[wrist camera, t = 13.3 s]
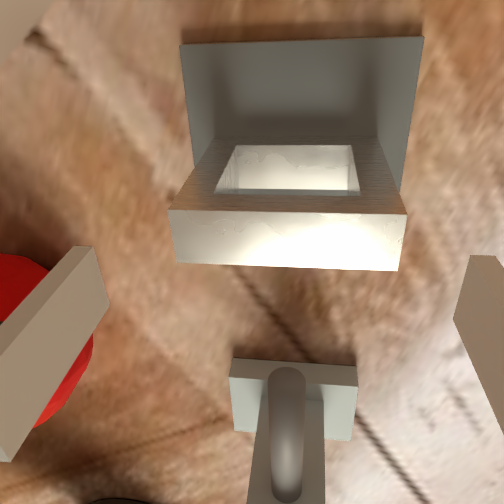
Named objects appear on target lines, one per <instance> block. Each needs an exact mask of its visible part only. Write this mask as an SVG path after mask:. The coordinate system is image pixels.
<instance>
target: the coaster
mask: <svg viewBox="0 0 504 504" xmlns="http://www.w3.org/2000/svg"><path fill="white" fill-rule="evenodd" d="M423 43H424V36H422V35H417V36H388V37H360V38H331V39H303V40H274V41H246V42H217V43H189V44H181V45H179V48H180V56H181V64H182V72H183V80H184V87H185V95H186V103H187V111H188V119H189V127H190V134H191V142H192V150H193V158H194V166H196V165H197V163H198V162H199V160H200V158H201V157H202V155H203V154H204V152H205V151H206V149H207V148H208V146H209V144H210V143H211V141H212V140H213V138H214V137H233V136H378V138H379V141H380V144H381V146H382V149H383V152H384V154H385V157H386V159H387V162H388V165H389V167H390V170H391V173H392V175H393V178H394V181H395V183H396V186H397V189H398V191H399V192H400V186H401V179H402V173H403V167H404V161H405V155H406V148H407V142H408V136H409V130H410V124H411V117H412V111H413V105H414V99H415V93H416V87H417V80H418V74H419V68H420V62H421V56H422V49H423ZM237 194H259V195H326V196H348V192H347V190H324V189H246V188H239V190H238V193H237Z"/></svg>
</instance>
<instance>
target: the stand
mask: <svg viewBox="0 0 504 504" xmlns="http://www.w3.org/2000/svg"><path fill="white" fill-rule="evenodd" d="M229 385H230V393H231V402H232V411H233V420H234V428H235V431H245V432H256V437H255V444H254V452H253V459H252V467H251V474H250V481H249V489H248V496H247V504H325V452H324V439H332V440H343V441H351V436H352V429H353V422H354V415H355V408H356V401H357V394H358V377H357V367H356V366H343V365H328V364H314V363H299V362H284V361H270V360H255V359H240V358H233V360H232V364H231V369H230V373H229Z"/></svg>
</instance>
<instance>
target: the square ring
mask: <svg viewBox="0 0 504 504" xmlns="http://www.w3.org/2000/svg"><path fill="white" fill-rule="evenodd" d="M239 188H246V189H324V190H347V192H348V196H326V195H259V194H237V193H238V190H239ZM167 211H168V216H169V222H170V228H171V233H172V239H173V245H174V250H175V256H176V262H177V263H201V264H228V265H254V266H281V267H307V268H333V269H360V270H386V271H397V270H398V265H399V259H400V253H401V248H402V242H403V237H404V231H405V226H406V220H407V212H406V210H405V207H404V204H403V202H402V199H401V196H400V194H399V191H398V189H397V186H396V183H395V181H394V178H393V175H392V173H391V170H390V167H389V165H388V162H387V159H386V157H385V154H384V152H383V149H382V146H381V144H380V141H379V138H378V136H233V137H214V138H213V140H212V141H211V143H210V144H209V146H208V148H207V149H206V151H205V152H204V154H203V155H202V157H201V158H200V160H199V162H198V163H197V165H196V166H195V168H194V169H193V171H192V172H191V174H190V176H189V177H188V179H187V180H186V182H185V183H184V185H183V186H182V188H181V189H180V191H179V193H178V194H177V196H176V197H175V199H174V200H173V202H172V203H171V205H170V207H169V208H168V210H167Z"/></svg>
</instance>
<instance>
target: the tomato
mask: <svg viewBox="0 0 504 504" xmlns="http://www.w3.org/2000/svg"><path fill="white" fill-rule="evenodd" d="M49 272H50V271H48V270H47V269H45V268H43V267H42V266H40V265H39V264H37V263H35V262H34V261H32V260H30V259H28V258H27V257H24V256H17V255H10V254H3V253H0V321H5V320H6V319H7V318H8V317H9V315H10V314H11V313H12V312H13V311H14V310H15V309H16V308H17V307H18V306H19V305H20V304H21V302H22V301H23V300H24V299H25V298H26V297H27V296H28V295H29V294H30V293H31V292H32V291H33V289H34V288H35V287H36V286H37V285H38V284H39V283H40V282H41V281H42V280H43V279H44V278H45V276H46V275H47V274H48V273H49ZM92 348H93V333H92V334H91V336H90V338H89V339H88V341H87V342H86V344H85V345H84V347H83V349H82V350H81V352H80V353H79V355H78V357H77V358H76V360H75V361H74V363H73V364H72V366H71V368H70V369H69V371H68V372H67V374H66V376H65V377H64V379H63V380H62V382H61V383H60V385H59V387H58V388H57V390H56V391H55V393H54V394H53V396H52V398H51V399H50V401H49V402H48V404H47V406H46V407H45V409H44V410H43V412H42V413H41V415H40V417H39V418H38V420H37V421H36V423H35V425H34V426H33V428H35V427H37V426H38V425H40V424H42V423H44V422H46V421H47V420H48V419H49V418H50V417H51V416H52V415H53V414H54V413H56V412H57V411H58V410H59V409H60V408H61V407H62V406H63V405H64V404H65V403H66V401H67V399H68V398H69V396H70V394H71V393H72V391H73V389H74V388H75V386H76V384H77V382H78V381H79V379H80V377H81V376H82V374H83V373H84V371H85V370H86V368H87V366H88V363H89V361H90V358H91V355H92ZM33 428H32V429H33Z"/></svg>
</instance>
